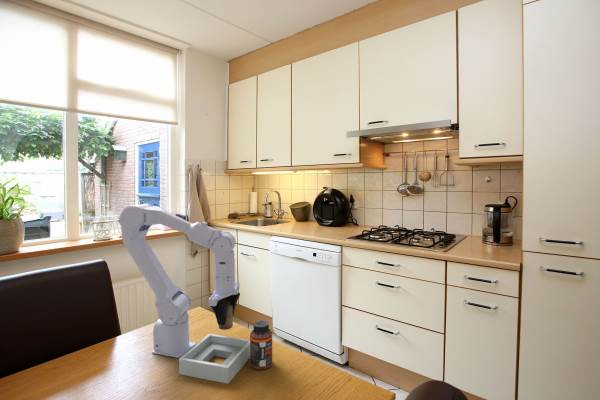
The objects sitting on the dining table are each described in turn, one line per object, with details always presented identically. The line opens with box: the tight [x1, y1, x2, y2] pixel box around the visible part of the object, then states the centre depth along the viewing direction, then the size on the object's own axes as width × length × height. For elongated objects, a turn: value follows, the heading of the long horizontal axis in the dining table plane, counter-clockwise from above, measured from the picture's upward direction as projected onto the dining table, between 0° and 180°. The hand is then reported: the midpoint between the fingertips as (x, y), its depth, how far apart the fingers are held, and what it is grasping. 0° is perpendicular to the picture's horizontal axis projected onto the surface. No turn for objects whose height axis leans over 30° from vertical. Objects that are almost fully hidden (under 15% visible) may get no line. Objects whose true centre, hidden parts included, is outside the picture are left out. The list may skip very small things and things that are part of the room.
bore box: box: [178, 333, 250, 385], centre depth 87 cm, size 14×14×4 cm
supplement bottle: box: [249, 320, 273, 371], centre depth 87 cm, size 6×6×11 cm
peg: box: [218, 304, 234, 331], centre depth 94 cm, size 4×4×6 cm
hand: (225, 320), depth 94 cm, fingers closed on peg, 4 cm apart
